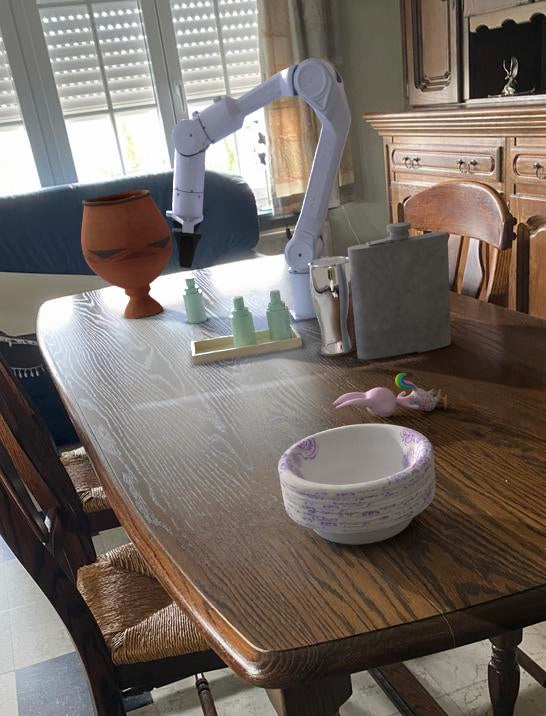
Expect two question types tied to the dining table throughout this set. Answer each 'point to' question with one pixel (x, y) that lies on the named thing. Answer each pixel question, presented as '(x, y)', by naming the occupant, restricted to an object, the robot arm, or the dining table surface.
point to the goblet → (127, 245)
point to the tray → (226, 350)
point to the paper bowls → (358, 481)
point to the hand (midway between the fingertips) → (184, 262)
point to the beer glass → (333, 303)
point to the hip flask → (400, 293)
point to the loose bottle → (194, 302)
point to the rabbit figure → (392, 398)
